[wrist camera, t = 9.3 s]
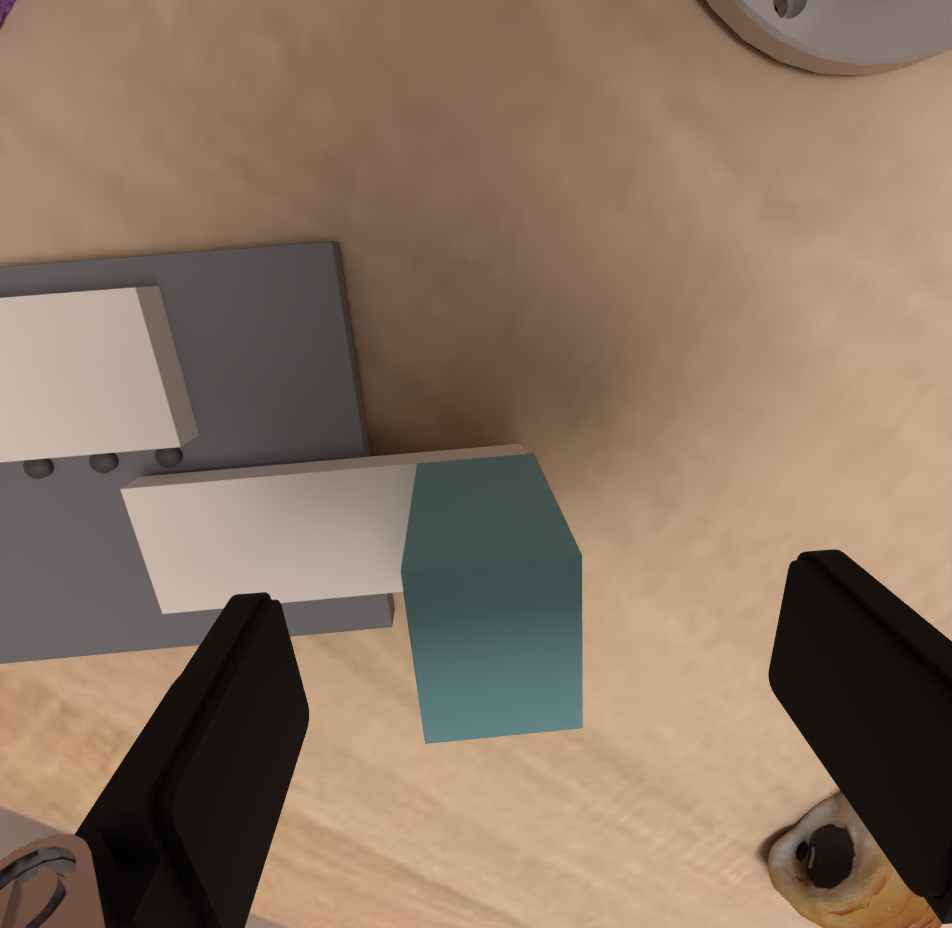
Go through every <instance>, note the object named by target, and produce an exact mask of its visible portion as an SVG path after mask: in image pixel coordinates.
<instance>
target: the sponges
mask: <svg viewBox="0 0 952 928" xmlns="http://www.w3.org/2000/svg"><path fill="white" fill-rule="evenodd" d="M15 1H16V0H0V23H1V21H2V19H3V18H4V17H5V16H7V14H9V12H10V11H11V9H12V8H13V5H14V3H15Z"/></svg>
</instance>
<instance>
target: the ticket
mask: <svg viewBox="0 0 952 928" xmlns="http://www.w3.org/2000/svg"><path fill="white" fill-rule="evenodd" d="M198 435H199V433H198V429H197V426H196V422H195V418H194V415H193V411H192V407H191V404H190V400H189V396H188V392H187V389H186V385H185V381H184V378H183V374H182V370H181V366H180V363H179V359H178V355H177V352H176V348H175V344H174V341H173V337H172V333H171V329H170V326H169V322H168V318H167V315H166V311H165V307H164V304H163V300H162V296H161V292H160V289H159V286H149V287H133V288H120V289H107V290H95V291H82V292H69V293H56V294H44V295H31V296H18V297H5V298H0V462H11V461H23V460H25V461H24V463H23V469H24V471H25V473H26V474H27V475H28V476H29V477H31V478H34V479H42V478H45V477H46V476H48V475H50V474H52V473H53V471H54V464H53V462H52V461H51V460H50V459H49V458H58V457H70V456H81V455H91V456H90V458H89V464H90V466H91V468H92V469H93V470H95V471H96V472H98V473H102V474H105V473H109V472H110V471H112V470H114V469H115V468H117V466H118V464H119V460H118V457H117V455H116V454H115V453H116V452H128V451H140V450H152V449H157V450H156V452H155V459H156V461H157V463H158V464H159V465H161V466H162V467H165V468H172V467H174V466H176V465H177V464H179V463H180V462H181V461H182V459H183V453H182V451H181V449H180V448H179V447H181V446H183V445H184V444H186V443H187V442H189V441H190V440H192V439H193V438H195V437H196V436H198Z"/></svg>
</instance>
